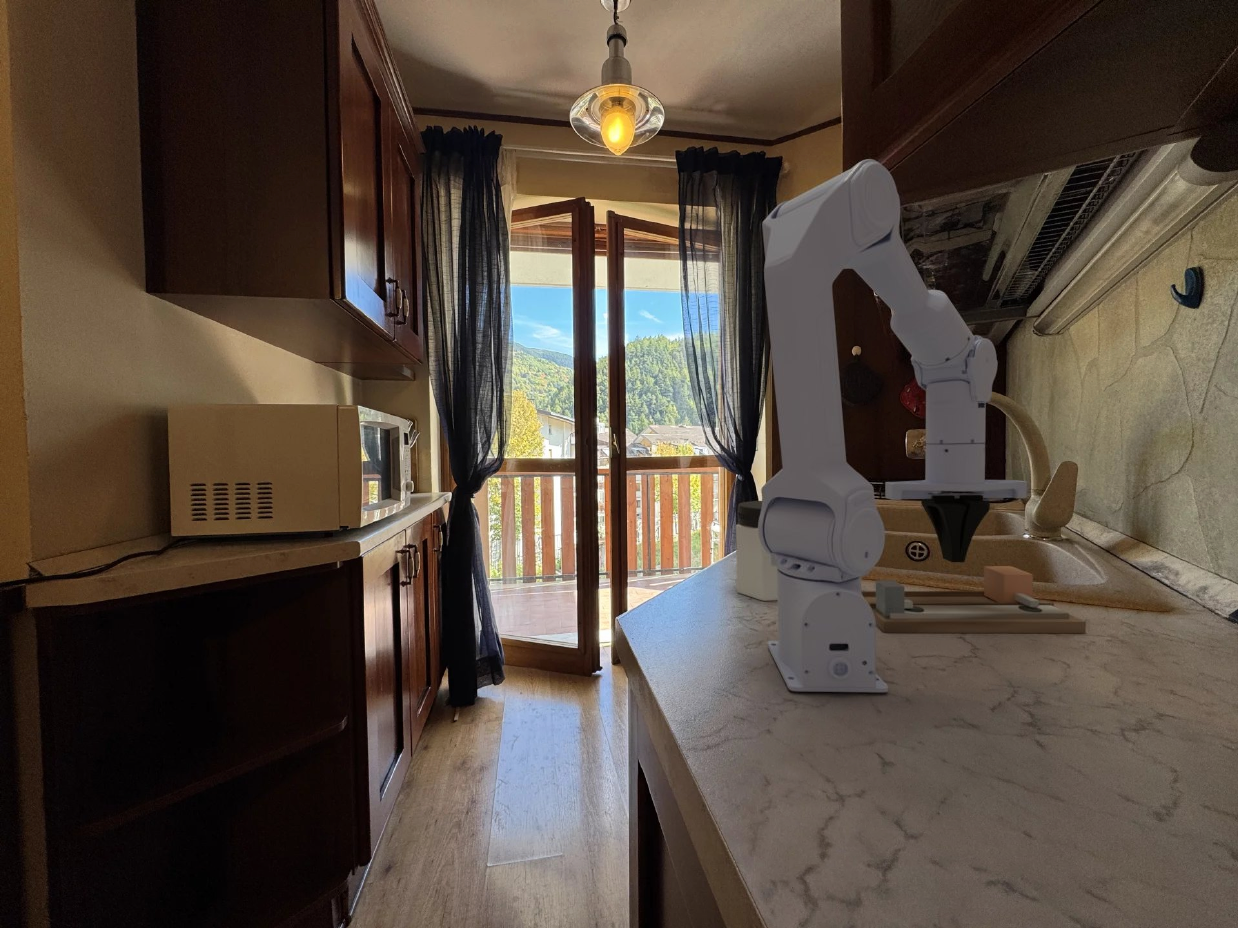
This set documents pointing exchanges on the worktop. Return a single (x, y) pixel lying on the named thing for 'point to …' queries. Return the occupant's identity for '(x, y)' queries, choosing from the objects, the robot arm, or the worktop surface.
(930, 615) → the board
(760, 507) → the jar
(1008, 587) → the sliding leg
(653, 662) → the worktop surface
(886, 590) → the fixed leg
